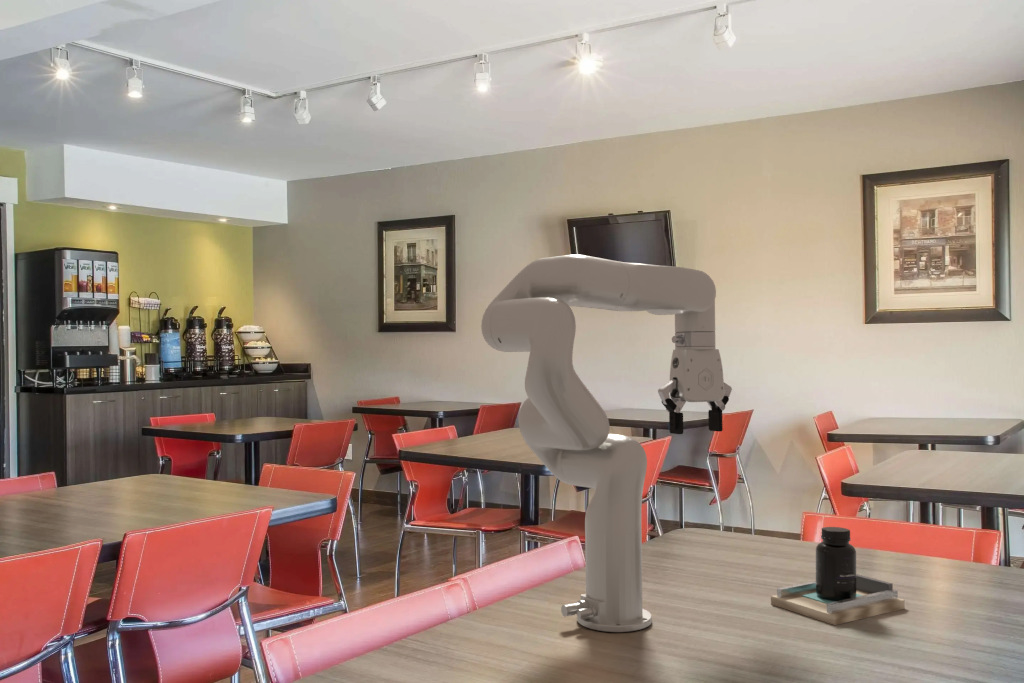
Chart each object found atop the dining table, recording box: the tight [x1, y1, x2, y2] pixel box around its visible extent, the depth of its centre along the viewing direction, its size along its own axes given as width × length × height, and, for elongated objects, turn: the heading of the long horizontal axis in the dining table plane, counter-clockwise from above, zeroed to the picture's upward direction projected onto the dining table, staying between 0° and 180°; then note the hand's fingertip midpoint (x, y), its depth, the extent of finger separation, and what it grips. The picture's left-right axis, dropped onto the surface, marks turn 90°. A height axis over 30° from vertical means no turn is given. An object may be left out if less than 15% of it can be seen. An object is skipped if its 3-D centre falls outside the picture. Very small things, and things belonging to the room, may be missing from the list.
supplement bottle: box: [815, 526, 857, 601], centre depth 154 cm, size 7×7×12 cm
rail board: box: [770, 573, 906, 626], centre depth 154 cm, size 18×14×4 cm
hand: (696, 432), depth 164 cm, fingers open, 9 cm apart
